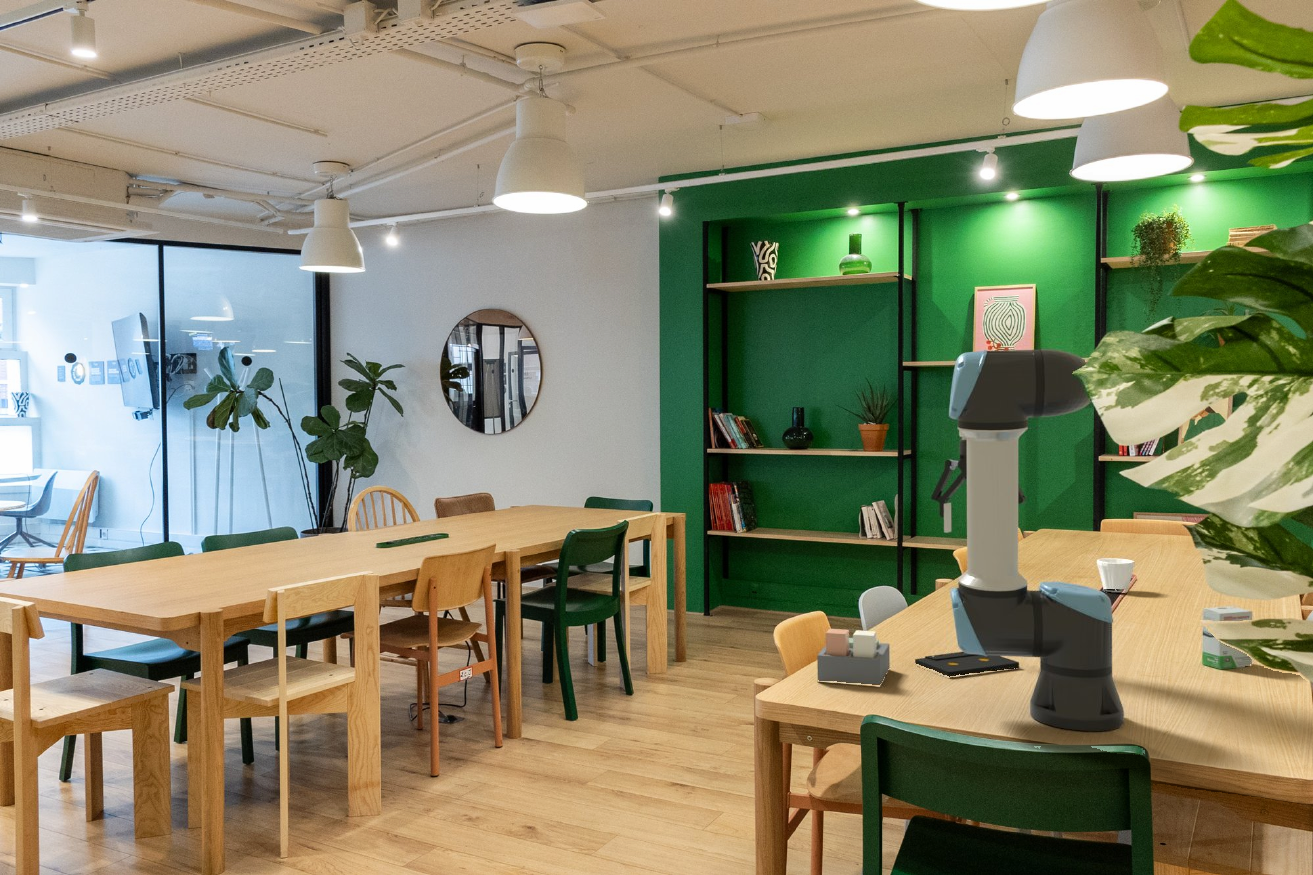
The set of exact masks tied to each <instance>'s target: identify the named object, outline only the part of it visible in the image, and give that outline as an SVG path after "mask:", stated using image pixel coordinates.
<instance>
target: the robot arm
mask: <svg viewBox="0 0 1313 875" xmlns="http://www.w3.org/2000/svg"><path fill="white" fill-rule="evenodd" d="M1085 360H1086V359H1085V358H1082V357H1080V356H1079V355H1077V354H1073V353H1072V352H1067V351H1063V350H1059V349H1050V348H1048V349H1047V348H1041V349H1017V350H1015V349H1013V350H1012V349H1008V350H1007V349H1005V350H1004V349H1003V350H985V349H984V350H979V351H970V352H969V351H968V352H964V353H961V354H960V355H959V356H958V357H957V358H956V361H955V365H954V369H953V375H952V381H951V388H950V398H949V400H950V401H949V408H948V409H949V410H948V417H949V418H950V419H953V420H957V430H958V431H959V432H958V435H959V437H960V438H961V439H960V440H959V442H958V443H959V446H958V447H959V459H958V460H954V459H950V458H949V459H946V460H945V461H944V470H943V472H942V474H941V476H940V477H939V480H938V482H937V484H936V486H935V488H934V490H933V493H932V494H931V496H930V497H931V500H932V501H936V502H938V504H939V516H940V518H943V533H946V534H947V533H951V532H952V502H949V500H950V499H951V498H952V497H953V495H954V494H955V493H956V492H957V491H958V490H959V488H960V487H961V486H962V485H963V484H964V483H965V482H966V536H967V537H966V554H967V555H966V556H967V557H966V559H967V560H966V565H967V567H966V571H964V573H962V574H961V575H960V576H959V577H958V585H957V586H958V587H957V586H955V587H954V588H950V591H949V593H950V600H951V606H952V614H953V620H954V626H955V634H956V640H957V646H958V648H959V649H960V650H961V652H965V653H968V654H977V655H984V656H987V655H991V656H1001V657H1018V658H1019V657H1020V658H1039V662H1040V663H1039V664H1040V665H1039V667H1040V669H1039V670H1040V671H1039V674H1038V676H1037V679H1036V680H1037V681H1036V683H1035V686H1034V689H1033V692H1032V695H1031V697H1030V702H1029V714H1030V716H1031V718H1033V719H1034V720H1035V721H1037V722H1040V723H1043V724H1045V725H1049V726H1051V727H1055V728H1059V729H1060V728H1061V729H1065V730H1073V731H1080V732H1081V731H1084V732H1104V731H1111V730H1115V729H1118V728H1120V727H1122V726H1123V725H1124V724H1125V712H1124V707H1123V704H1122V701H1121V697H1120V695H1119V692H1118V690H1117V687H1116V684H1115V681H1114V678H1113V623H1114V618H1113V610H1112V609H1113V608H1112V601H1111V599H1110V596H1108V595H1107V594H1106V592H1105V593H1104V592H1103V591H1101V590H1099V589H1096V588H1093V587H1089V586H1085V585H1081V584H1075V583H1070V582H1064V581H1063V582H1061V581H1047V580H1045V581H1042V582H1040V584H1039V586H1038V590H1029V589H1028V580H1026V578H1025V577H1024V576H1023V574H1021V573H1020V572H1019V505H1020V504H1022V503H1026V501H1027V497H1026V495H1025V494H1024V491H1022V490H1023V489H1022V488H1021V486H1020V484H1019V439H1020V437H1021V436H1022V435H1023V434H1024V433H1025V432H1027V430H1028V429H1029V426H1028V425H1029V424H1028V423H1029V418H1047V417H1048V418H1049V417H1056V416H1062V415H1067V414H1070V413H1075V412H1076V411H1080V410H1081V409H1084V408H1085V407H1087V406H1088V405H1089V404H1090V403H1091V402H1092V401H1090V398H1088V396H1087V394H1086V392H1085V390H1084V387H1083V385H1082V383H1081V382H1080V380H1079V379H1078V378H1077V377H1074V376H1073V375H1072V373H1073V371H1075V370H1077V369H1079V368H1080V367H1082V366H1084V362H1085ZM957 467H958V469H959V470H960V471H961V472H960V473H959V475H957V477H956V479H955V480H954V481H953V482H952V483H951V485H950V486H949V487H948V488H947V489H946V490H945V488H946V486H947V484H948V481H949V480H950V478H951V476H952V473H953V471H954V470H956V468H957ZM944 490H945V492H944ZM943 492H944V493H943Z"/></svg>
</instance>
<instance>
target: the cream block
mask: <svg viewBox="0 0 1313 875" xmlns="http://www.w3.org/2000/svg"><path fill="white" fill-rule="evenodd" d="M852 638H853V657H866V658H876V657H877V652H876V640H877V631H874V630H872V631H870V630H859V629H858V630H855V632H854V633H853V635H852Z"/></svg>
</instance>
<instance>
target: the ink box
mask: <svg viewBox="0 0 1313 875" xmlns="http://www.w3.org/2000/svg"><path fill="white" fill-rule="evenodd" d="M1203 620H1212V621H1243V620H1252V621H1253V611H1252V610H1248V609H1245V608H1241V607H1237V606H1233V605H1231V606H1218V607H1216V606H1215V607H1205V608H1203V609H1202V621H1203ZM1201 638H1202V642H1201V645H1202V647H1201V648H1202V650H1201V651H1202V652H1201V653H1202V655H1201V656H1202V657H1201V664H1202V665H1204V666H1208V667H1211V668H1214V669H1217V670H1218V669H1219V670H1227V669H1228V670H1229V669H1239V668H1246V667H1245V666H1250V664H1252V665H1253V658H1252V659H1251V658H1250V657H1249V656H1247V654H1245V653H1243V652H1241V651H1239V650H1237V649H1235V648H1232V647H1230V646H1227V645H1225V644H1223V643H1221V642H1220V641H1218V639H1216V638H1215V637H1214V636H1213V635H1212V634H1211V633H1210V632H1209V631H1208V629H1206V627H1205V626H1203V625H1202V637H1201ZM1250 667H1251V666H1250Z"/></svg>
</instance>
